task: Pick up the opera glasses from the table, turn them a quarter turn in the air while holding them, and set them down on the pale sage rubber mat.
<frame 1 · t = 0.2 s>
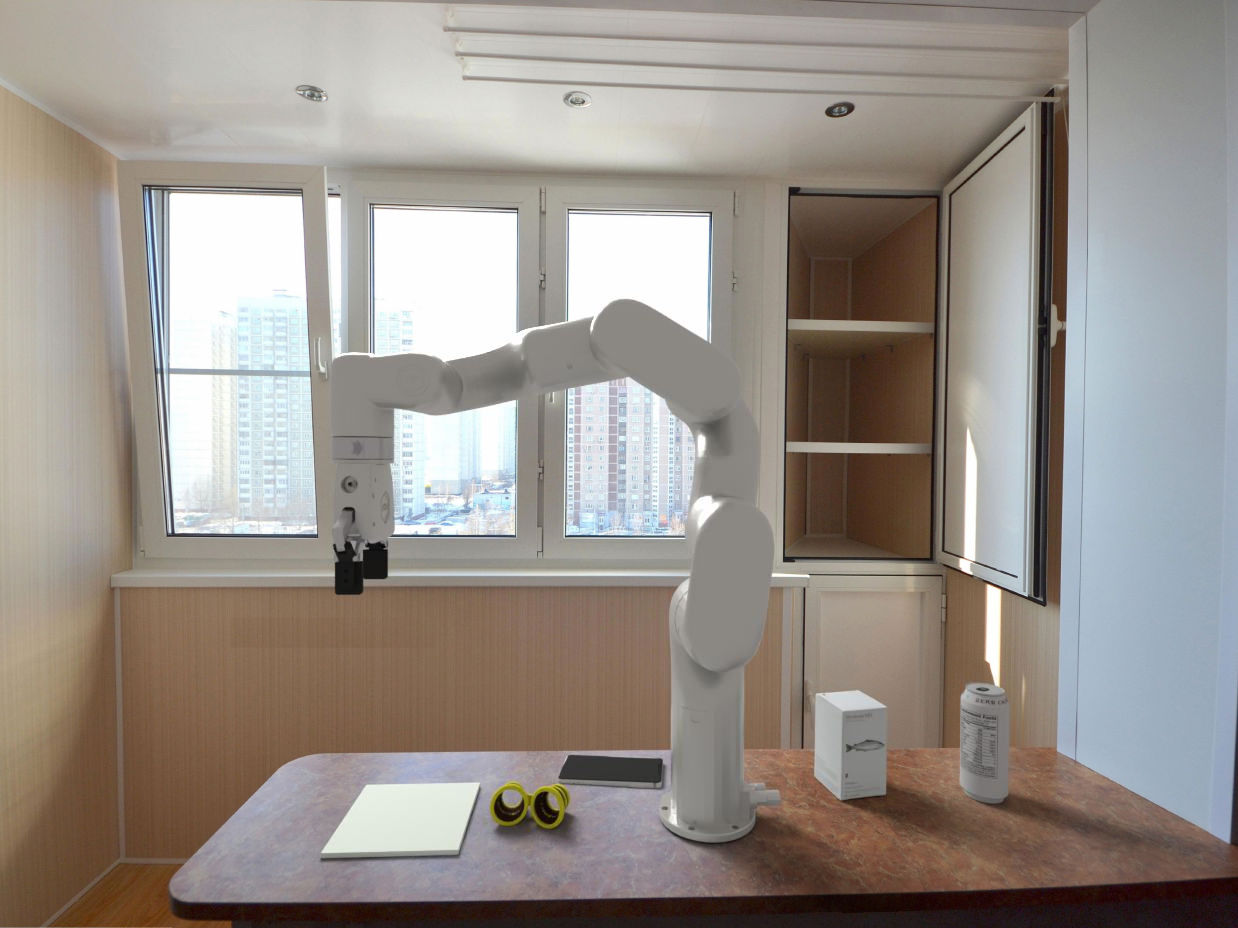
hand: (363, 586, 84), 31 cm above the table, tool pointing down, fingers open, 9 cm apart
opera glasses: (531, 819, 86), on the table
energy drink can: (983, 795, 92), on the table
smartphone: (612, 776, 98), on the table
mat: (408, 818, 86), on the table
supplement box: (849, 787, 95), on the table
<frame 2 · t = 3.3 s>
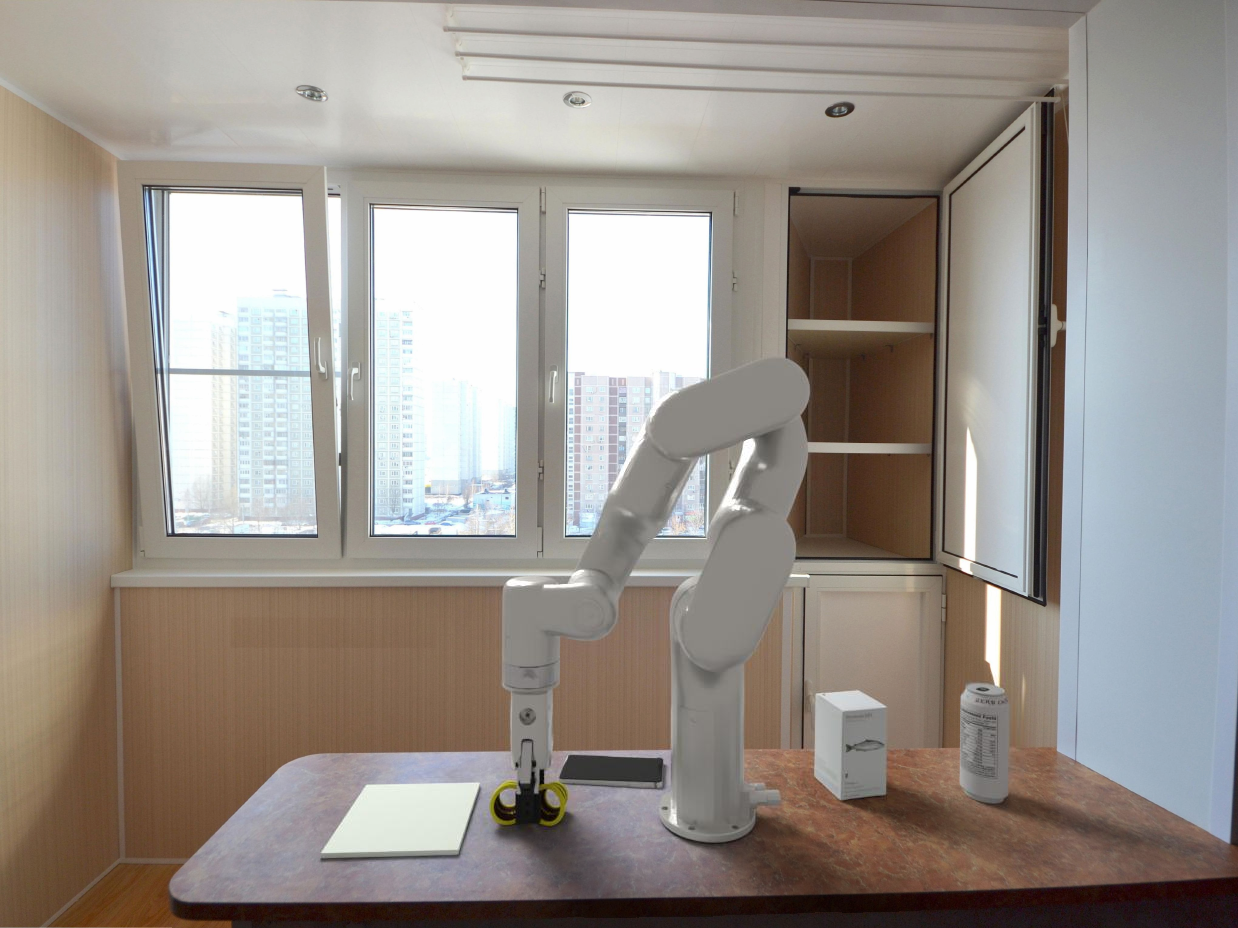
hand: (530, 807, 86), 1 cm above the table, tool pointing down, fingers closed on opera glasses, 5 cm apart
opera glasses: (530, 818, 86), on the table, touching gripper
everything else where it was.
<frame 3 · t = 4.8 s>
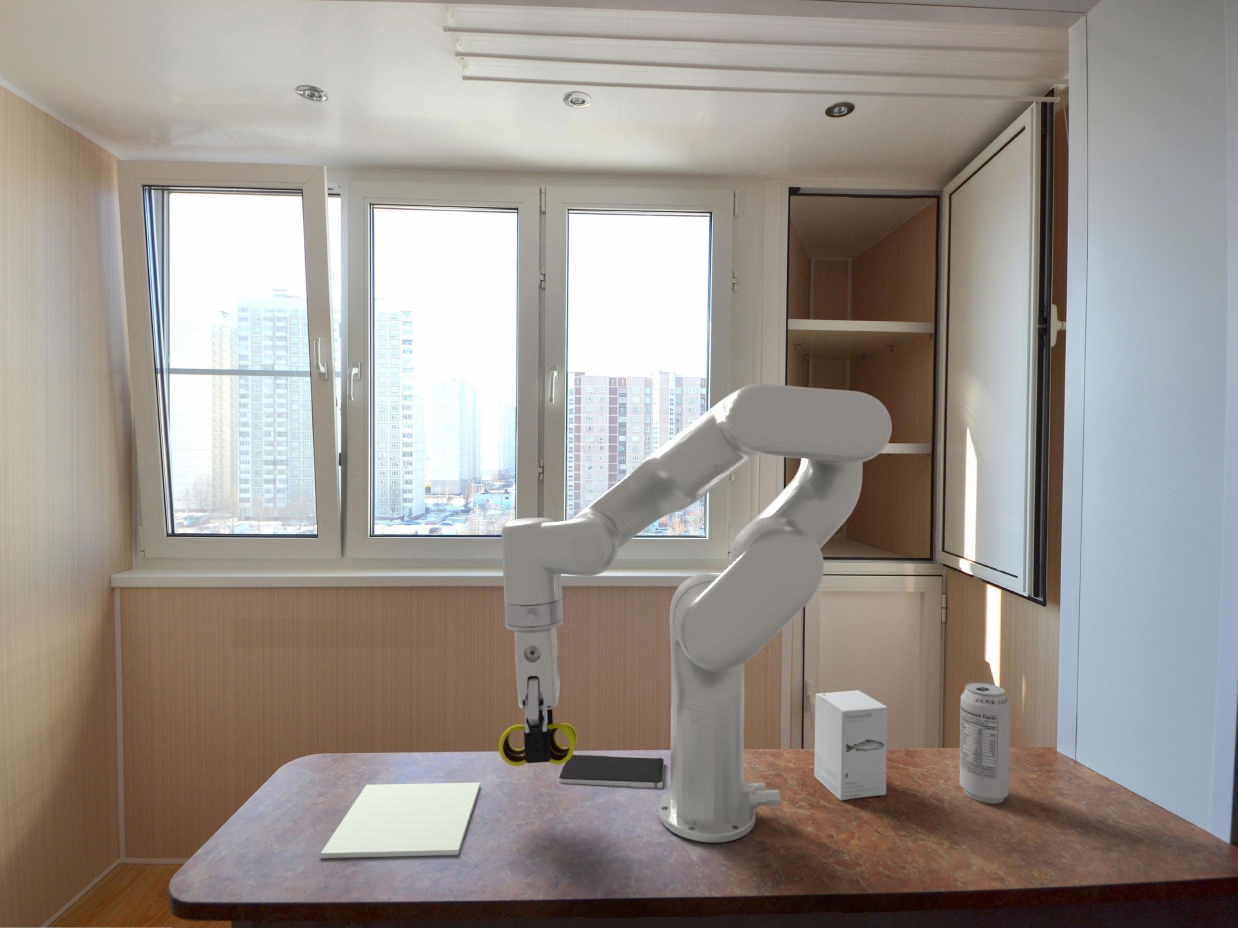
hand: (539, 748, 86), 9 cm above the table, tool pointing down, fingers closed on opera glasses, 5 cm apart
opera glasses: (540, 759, 86), point 8 cm above the table, touching gripper
everything else where it was.
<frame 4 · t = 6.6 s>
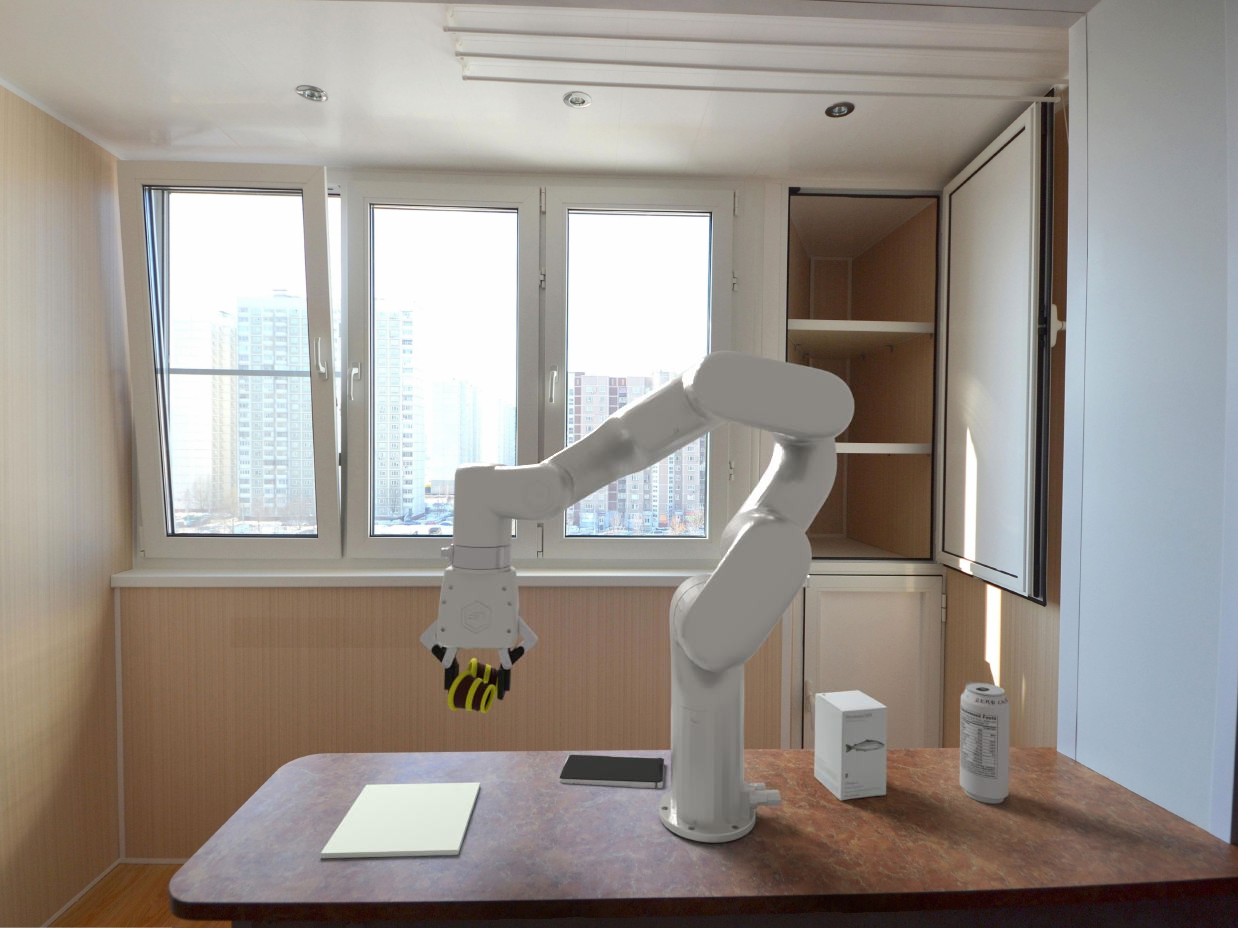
hand: (477, 694, 86), 16 cm above the table, tool pointing down, fingers closed on opera glasses, 5 cm apart
opera glasses: (477, 704, 86), point 15 cm above the table, touching gripper
everything else where it was.
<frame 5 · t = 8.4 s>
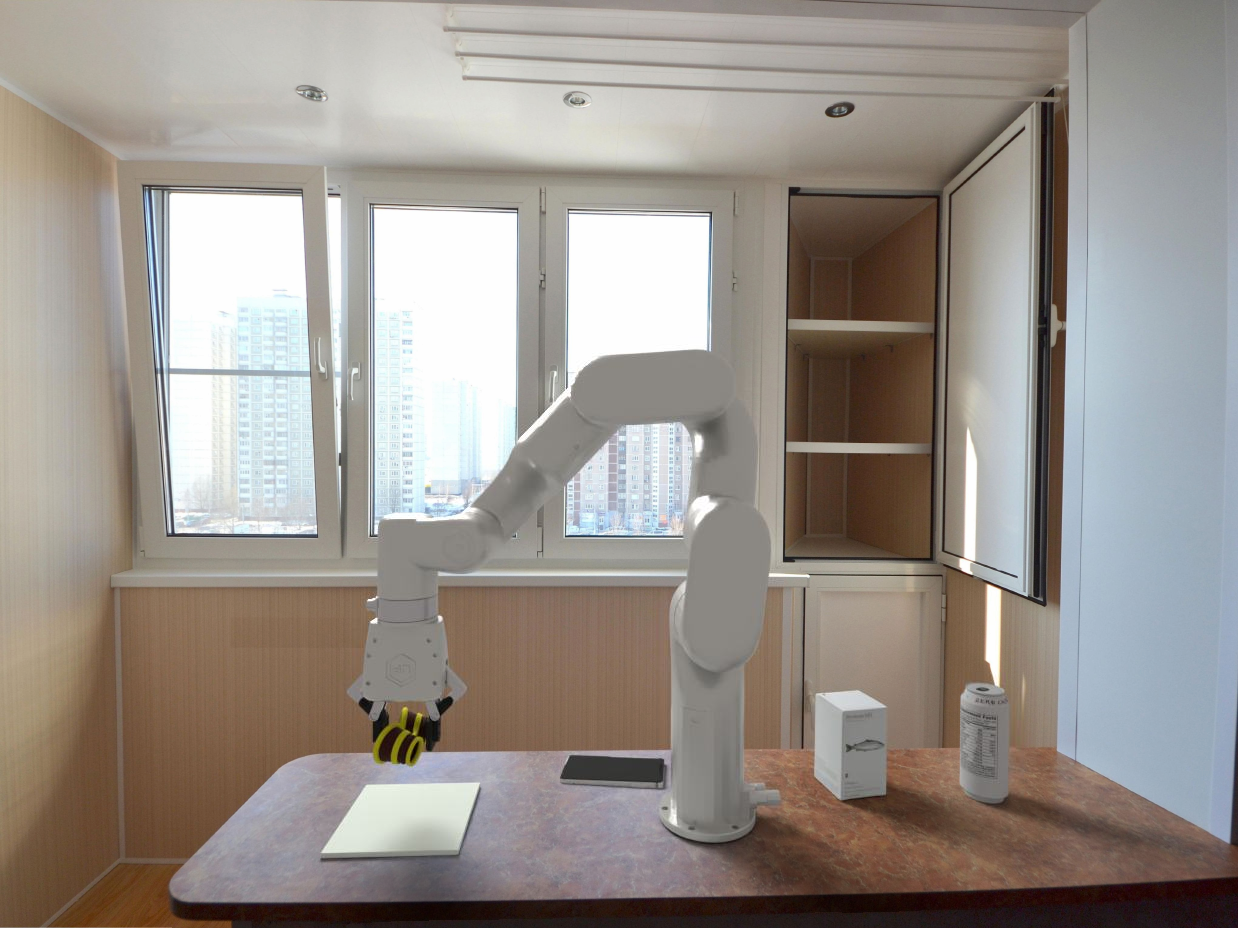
hand: (407, 745, 86), 10 cm above the table, tool pointing down, fingers closed on opera glasses, 5 cm apart
opera glasses: (406, 755, 86), point 8 cm above the table, touching gripper
everything else where it was.
when the fingers open (3 cm above the table, at t = 10.0 s): opera glasses drops 1 cm, resting on mat.
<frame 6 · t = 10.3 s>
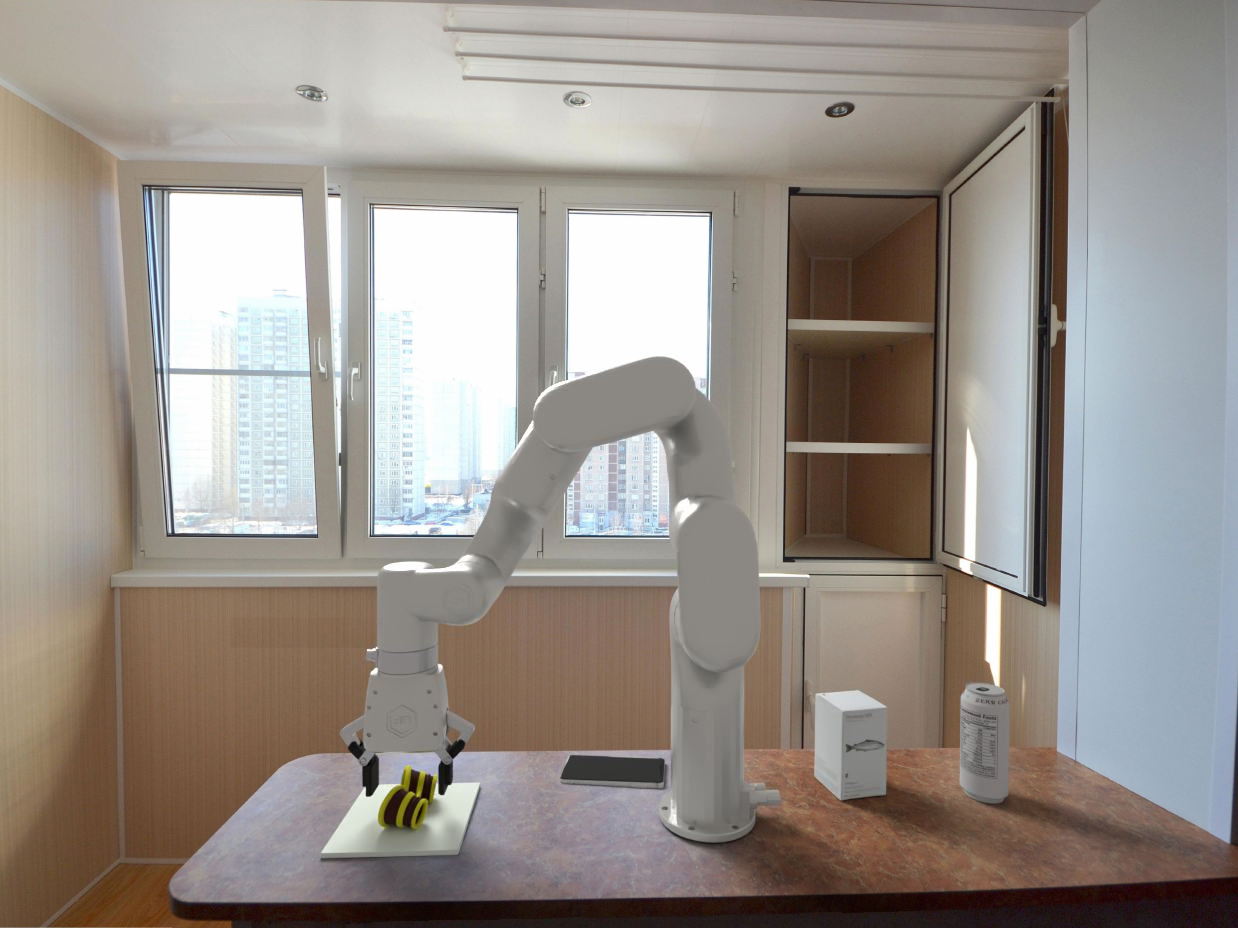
hand: (408, 790, 86), 4 cm above the table, tool pointing down, fingers open, 8 cm apart
opera glasses: (411, 815, 86), resting on mat
everything else where it was.
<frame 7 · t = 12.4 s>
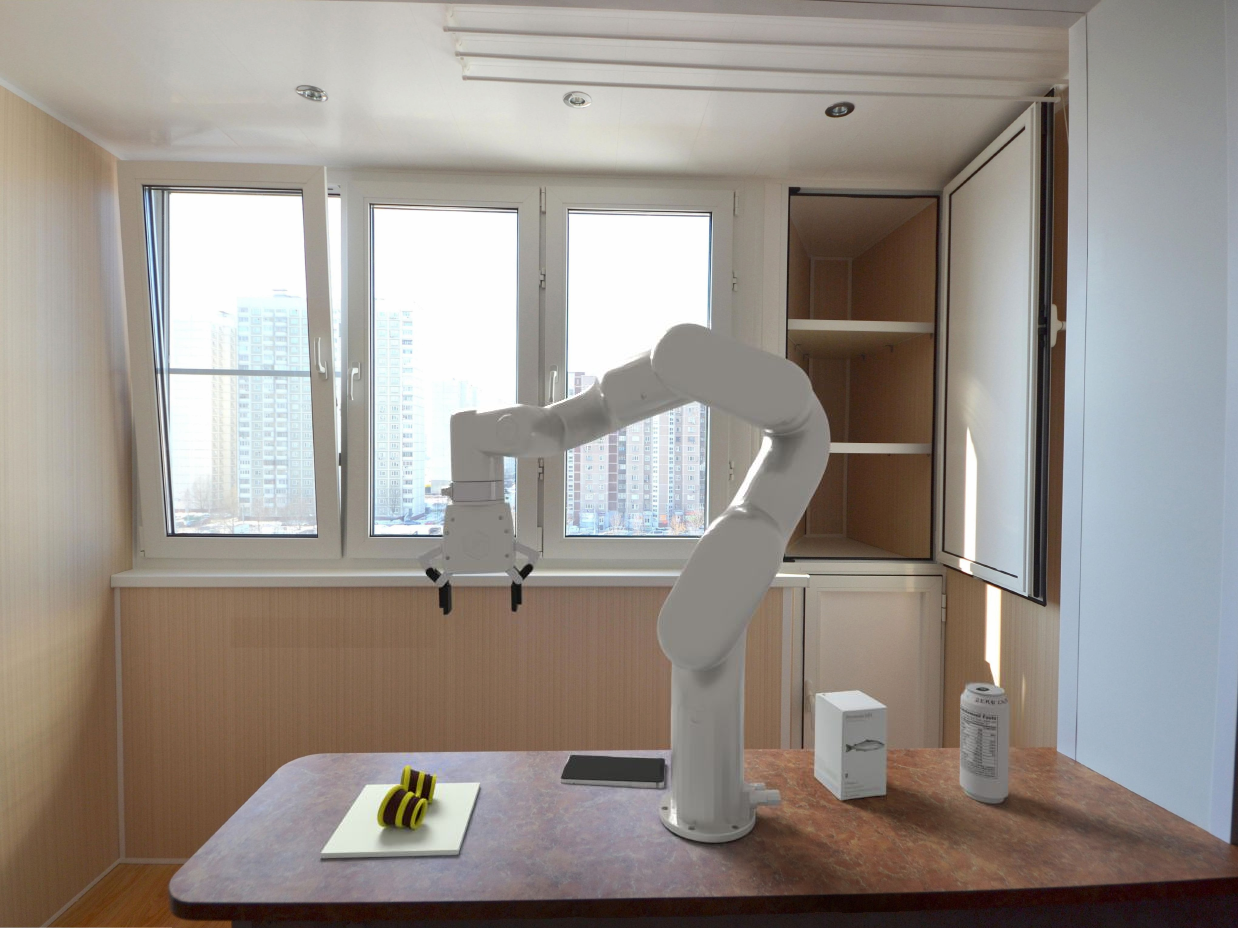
hand: (481, 611, 96), 25 cm above the table, tool pointing down, fingers open, 9 cm apart
nothing on the table moved.
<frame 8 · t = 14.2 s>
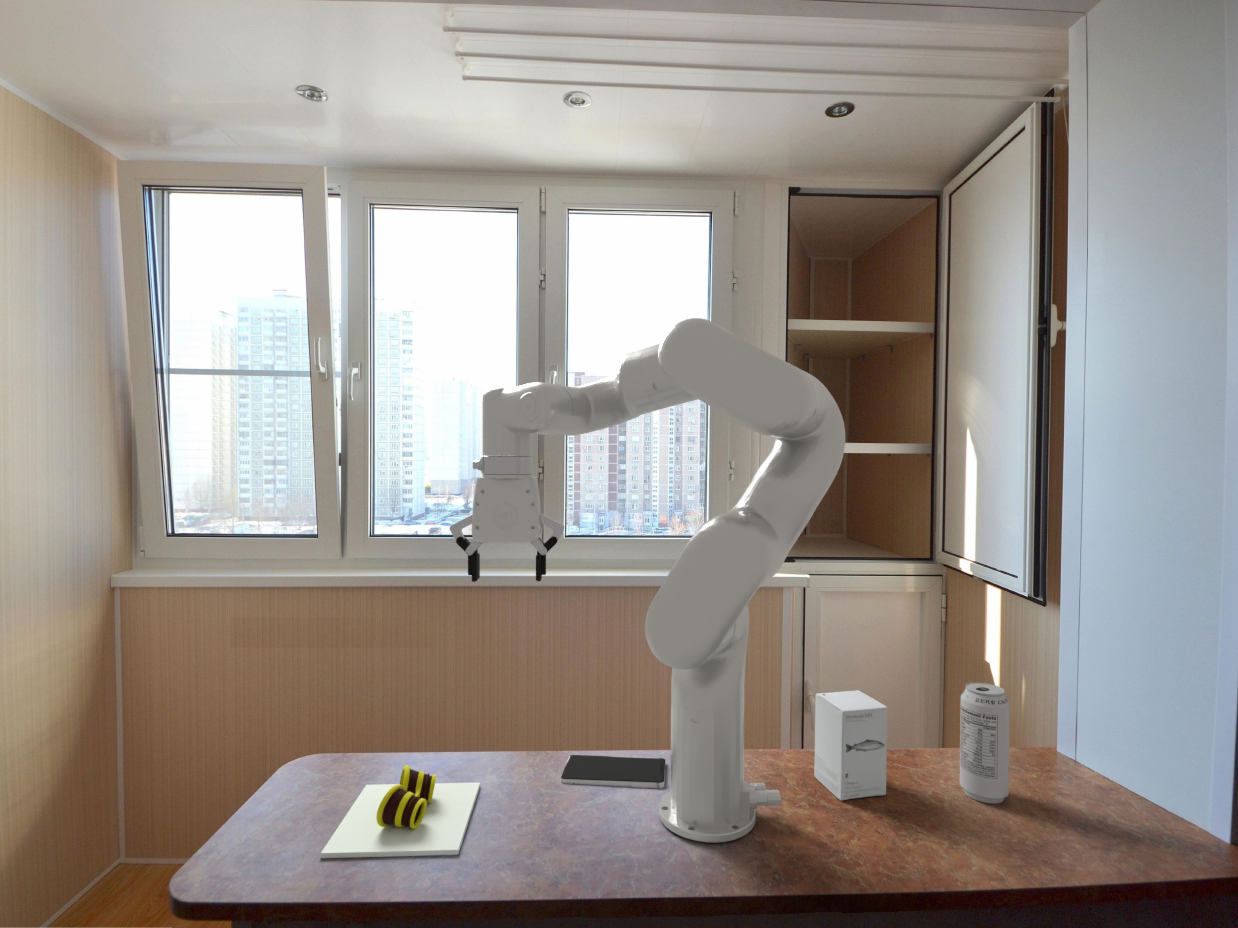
hand: (507, 579, 101), 28 cm above the table, tool pointing down, fingers open, 9 cm apart
nothing on the table moved.
at the end: opera glasses inside the target area on the mat (0.2 cm from its centre), point 0.4 cm above the mat's base; opera glasses touching mat; the gripper is holding nothing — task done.
